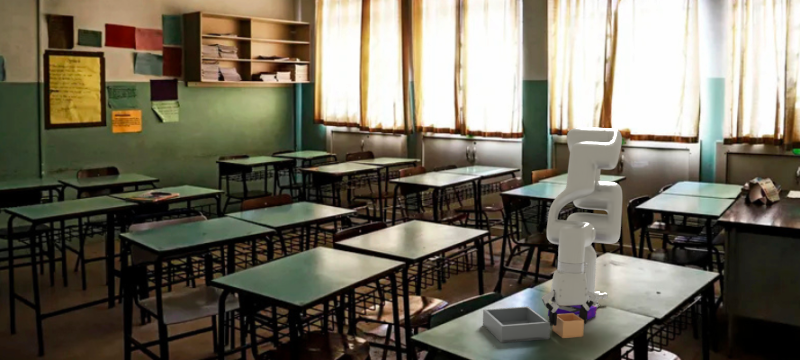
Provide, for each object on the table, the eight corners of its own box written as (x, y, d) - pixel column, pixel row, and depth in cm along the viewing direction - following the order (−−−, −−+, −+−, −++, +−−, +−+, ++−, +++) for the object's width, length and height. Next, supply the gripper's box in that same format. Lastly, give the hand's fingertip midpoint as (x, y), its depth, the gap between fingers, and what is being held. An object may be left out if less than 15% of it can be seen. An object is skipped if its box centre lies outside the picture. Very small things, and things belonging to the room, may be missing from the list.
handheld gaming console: (597, 305, 219) (575, 311, 208) (595, 321, 219) (573, 328, 208) (571, 299, 225) (548, 304, 214) (569, 314, 226) (546, 320, 214)
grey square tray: (527, 321, 213) (528, 306, 212) (549, 338, 198) (549, 322, 198) (482, 325, 209) (483, 309, 208) (501, 343, 195) (502, 326, 194)
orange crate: (572, 328, 207) (573, 313, 206) (583, 336, 201) (583, 320, 200) (552, 330, 205) (553, 314, 205) (562, 338, 199) (563, 321, 198)
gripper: (590, 263, 206) (587, 317, 208) (538, 265, 201) (535, 321, 203) (603, 269, 198) (600, 325, 200) (549, 271, 194) (546, 329, 196)
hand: (567, 323), depth 202 cm, fingers open, 9 cm apart
